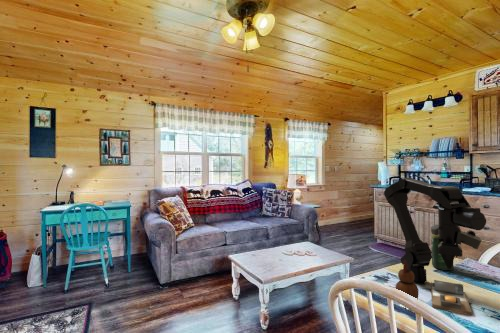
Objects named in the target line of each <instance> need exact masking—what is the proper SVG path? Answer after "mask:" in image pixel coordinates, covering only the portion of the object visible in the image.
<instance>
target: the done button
mask: <svg viewBox="0 0 500 333" xmlns="http://www.w3.org/2000/svg"><path fill="white" fill-rule="evenodd" d="M445 301H448V302H454V303H456V298H455V297H452V296H445Z"/></svg>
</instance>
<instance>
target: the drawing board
mask: <svg viewBox="0 0 500 333" xmlns="http://www.w3.org/2000/svg"><path fill="white" fill-rule="evenodd" d="M430 294H431V307H432V308H434V309H435V308H436V309H439V310H445V311H449V312H454V313H458V314H464V315H467V316H472V315H473V314H472V309H471V307H470V303H469V300H468V298H467V294H466V292H465V291H464V295H459V294H454V293H448V292H443V291H437V290H435V287H431V286H430ZM445 296H452V297H455V298H456V303H454V302H448V301H445Z"/></svg>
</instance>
